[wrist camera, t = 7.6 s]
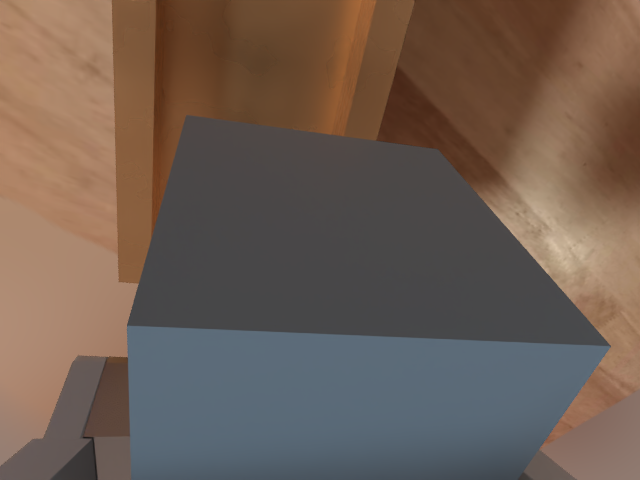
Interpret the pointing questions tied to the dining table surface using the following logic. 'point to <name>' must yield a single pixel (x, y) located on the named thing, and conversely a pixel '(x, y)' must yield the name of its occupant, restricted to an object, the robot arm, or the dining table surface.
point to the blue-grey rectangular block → (340, 318)
